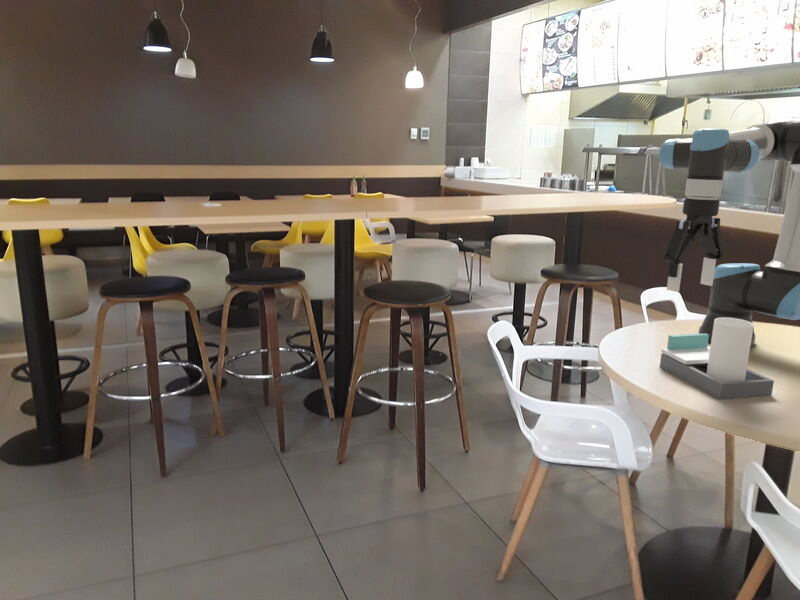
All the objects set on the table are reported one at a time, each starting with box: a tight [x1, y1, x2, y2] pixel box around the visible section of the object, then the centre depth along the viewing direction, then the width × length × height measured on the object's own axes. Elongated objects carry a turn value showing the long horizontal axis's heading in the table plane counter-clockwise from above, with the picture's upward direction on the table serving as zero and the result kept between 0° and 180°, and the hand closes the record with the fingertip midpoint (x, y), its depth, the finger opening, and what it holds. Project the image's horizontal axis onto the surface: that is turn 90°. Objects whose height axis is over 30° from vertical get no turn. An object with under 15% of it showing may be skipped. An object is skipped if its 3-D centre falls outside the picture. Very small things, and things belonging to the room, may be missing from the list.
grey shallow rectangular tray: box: [659, 352, 775, 400], centre depth 153 cm, size 14×22×4 cm, turn 13°
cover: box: [661, 333, 711, 365], centre depth 158 cm, size 14×9×4 cm
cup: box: [705, 317, 755, 382], centre depth 148 cm, size 8×8×16 cm
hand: (689, 287), depth 149 cm, fingers open, 13 cm apart
